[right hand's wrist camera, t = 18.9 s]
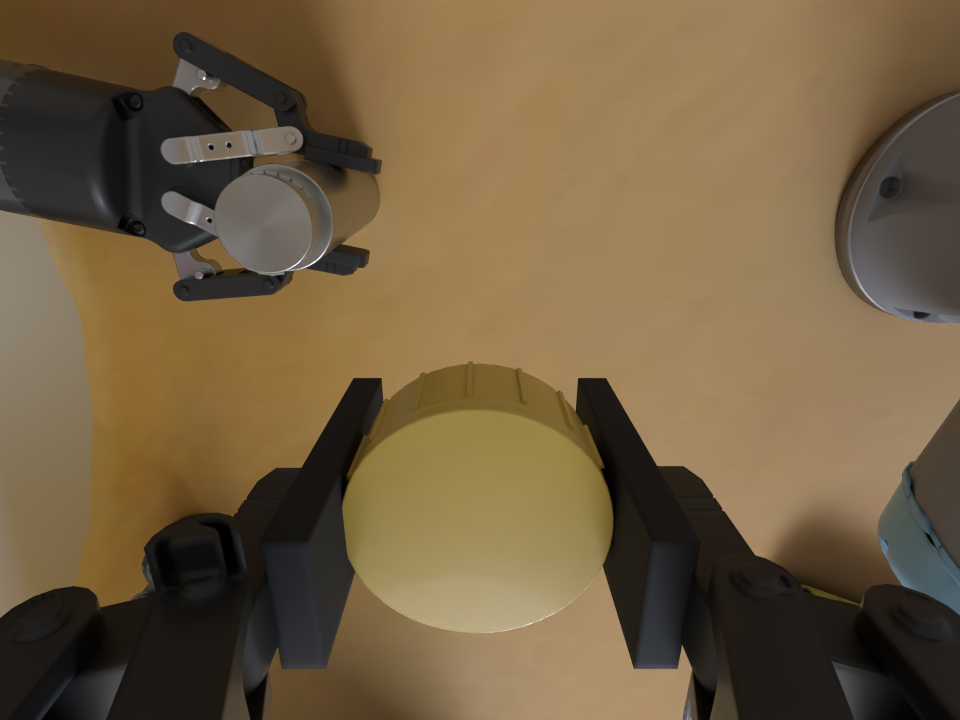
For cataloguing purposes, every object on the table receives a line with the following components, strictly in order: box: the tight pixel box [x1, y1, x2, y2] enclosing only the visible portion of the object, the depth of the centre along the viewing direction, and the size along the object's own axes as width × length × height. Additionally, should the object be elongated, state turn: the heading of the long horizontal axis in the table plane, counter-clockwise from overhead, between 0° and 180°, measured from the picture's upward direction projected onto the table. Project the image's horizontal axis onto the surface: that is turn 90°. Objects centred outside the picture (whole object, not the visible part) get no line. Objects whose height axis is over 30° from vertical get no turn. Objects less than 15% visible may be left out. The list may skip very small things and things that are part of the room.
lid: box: [342, 362, 614, 633], centre depth 11 cm, size 6×6×2 cm
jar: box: [214, 162, 380, 276], centre depth 28 cm, size 4×4×16 cm
